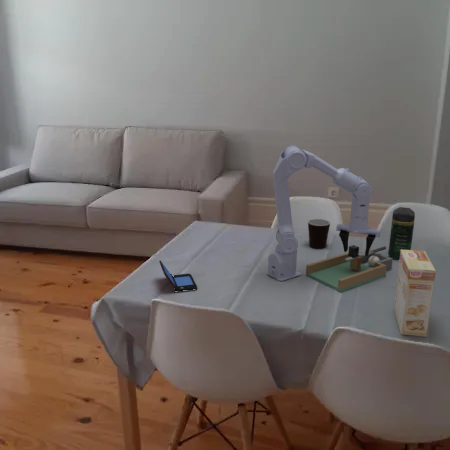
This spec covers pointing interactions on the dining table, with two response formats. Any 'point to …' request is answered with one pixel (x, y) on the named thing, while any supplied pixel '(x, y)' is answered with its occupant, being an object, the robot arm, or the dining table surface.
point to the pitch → (347, 271)
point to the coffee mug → (318, 233)
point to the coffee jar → (401, 231)
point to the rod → (358, 256)
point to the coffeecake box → (414, 292)
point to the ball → (373, 260)
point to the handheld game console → (180, 280)
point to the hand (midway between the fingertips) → (356, 253)
